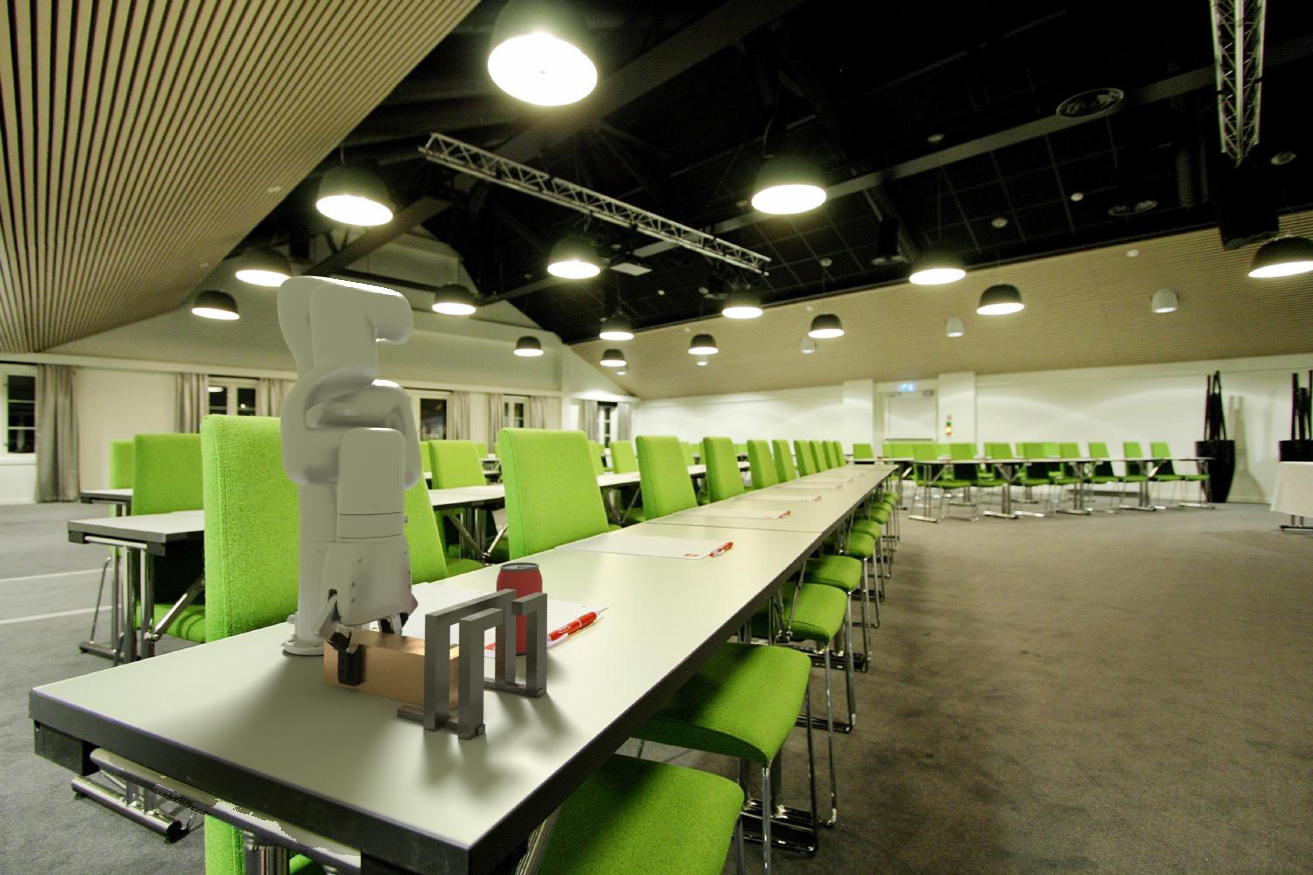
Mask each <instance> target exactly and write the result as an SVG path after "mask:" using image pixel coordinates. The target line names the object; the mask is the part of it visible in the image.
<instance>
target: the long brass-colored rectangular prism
mask: <svg viewBox="0 0 1313 875" xmlns="http://www.w3.org/2000/svg"><path fill="white" fill-rule="evenodd" d="M348 635H349V630H348V632H347V636H346V637H347V638H348ZM357 651H361V683H360V685H358V686H355V687H354V686H349V685H345V684H340V683H339V682H338V674H337V673H338V651H336V650H334V649H333V647H332V646H331V645H330V644H328V643H327V642H326V641H325V640H324V655H323V678H322V679H323V684H327V685H330V686H336V687H340V688H344V689H348V690H352V691H353V690H354V691H359V692H363V693H367V694H371V695H376V696H380V697H384V698H388V699H394V700H398V701H402V702H406V703H410V704H411V703H412V704H415V705H420V706H424V652H425V638H420V637H414V636H410V635H409V636H408V635H403V634H402V635H397V634H391V633H384V632H378V631H372V630H366V629H361V633H360V638H359V643H358V647H357ZM458 667H459V643H451V642H450V690H449V712H450V711H451V710H453V709H456V708H458Z"/></svg>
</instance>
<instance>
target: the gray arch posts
mask: <svg viewBox="0 0 1313 875" xmlns="http://www.w3.org/2000/svg"><path fill="white" fill-rule="evenodd" d="M526 614H527V615H526ZM516 615H519V616H523V615H526V654H525V683H518V682H516V681H517V680H516V679H517V678H516V675H517V674H516V670H517V668H516V667H517V665H516V664H517V660H516V659H517V655H516ZM457 624H458V644H459V667H458V706H457V716H453V715H450V711H449V690H450V643H451V626H454V625H457ZM493 628H495V633H494V634H495V636H494V637H495V641H494V678H493V677H492V678H491V677H489V676H488V677H487V676H485V632H486V631H487V630H491V629H493ZM424 639H425V652H424V705H423V708H419V707H415V706H410V705H405V704H404V705H402V706H400V707H397V709H396V716H397V717H398V718H402V719H406V720H411V721H415V722H420V723H423V724H422V725H423V728H422V729H423V730H428V731H431V732H436V731H438V730H440V729H442V728H444V729H447V730H452V731H455V732H457V738H460V739H462V740H468V741H470V740H472V739H474V738H475V737H479V736H481V735H483V734H484V733H485V732H486V723H485V722H484V719H485V718H484V717H485V716H484V714H485V712H484V710H485V708H484V706H485V705H484V703H485V700H484V698H485V689H491V690H495V691H499V692H504V693H510V694H514V695H521V696H524V697H530V698H535V699H539V698H541V697H543V696H544V694H546V693H547V692H548V689H547V687H548V685H547V682H548V681H547V680H548V678H547V676H548V674H547V673H548V670H547V668H548V667H547V666H548V664H547V662H548V593H547V592H542V593H540V592H536V593H533V594H530V595H527V596H524V597H521V598H519V599H516V590H513V589H504V590H501V591H498V592H496V591H494V592H492V593H489V594H486V595H482V596H479V597H476V598H473V599H469V600H467V601H463V602H460V603H457V604H454V605H451V606H448V607H445V608H440V609H437V610H434V611H432V612H429V613H424Z"/></svg>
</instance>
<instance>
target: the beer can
mask: <svg viewBox="0 0 1313 875" xmlns="http://www.w3.org/2000/svg"><path fill="white" fill-rule="evenodd" d="M495 584H496V587H495V589H496V590H495V592H498V591H501V590H504V589H513V590H516V599H519V598H521V597H524V596H527V595H530V594H533V593H536V592H540V593H543V577H542V574H541V571H540V564H538V563H537V562H529V561H527V562H526V561H525V562H524V561H518V562H516V561H515V562H509V563H504V564H501V565H500V566H499V572H498V574H497V578H496V583H495ZM526 615H527V614H526ZM526 615H523V616H519V615H516V656H518V655H526Z"/></svg>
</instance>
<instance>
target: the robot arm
mask: <svg viewBox="0 0 1313 875" xmlns="http://www.w3.org/2000/svg"><path fill="white" fill-rule="evenodd" d="M276 309H277V317H278V323H279V328H280V331H281V334H282V336H283V339H284V341H285V343H286V345H287V347H288V349H289V351H290V353H291V355H292V357H293V359H294V361H295V365H296V369H297V370H296V372H297V381H296V383H295V384H294V385H293V386H292V388H291V389H290V390H289V392H288V393H287V396H286V398H285V399H284V401H283V405H282V409H281V413H280V421H279V422H280V424H279V425H280V429H279V430H280V445H281V446H280V448H281V462H282V467H283V470H284V473H285V475H286V477H287V478H288V479H289V480H290V481H291V482H293V483H295V484H296V485H297V486H296V487H297V494H298V503H299V504H298V505H299V506H298V507H299V539H298V540H299V543H298V544H299V546H298V547H299V549H298V552H299V553H298V589H297V590H298V591H297V592H298V593H297V594H298V595H297V611H295V613H294V614H290V615H289V616H287V618H286V623H287V624H288V625H294V634H292V635H290V636H288V637H287V638H286V639H285V640H284V642H283V644H284V645H283V646H284V651H286V652H287V653H290V654H293V655H299V656H320V655H322V656H324V640H325V641H326V642H327V643H328V644H330V645H331V646H332V647H333V649H334V650H336V651H338V673H337V674H338V682H339V683H340V684H345V685H349V686H354V687H355V686H358V685H360V683H361V651H357V647H358V643H359V638H360V633H361V629H366V630H372V631H378V632H384V633H391V634H397V635H403V628H404V627H405V625H406V624H407V622H408V620H409V618H410V617H411V615H412V614H413V613H414V611H416V609H417V608H418V606H419V602H418V600H417V598H416V597H415V595H414V594H413V592H412V591H413V589H412V588H413V582H412V581H413V580H412V579H413V576H412V563H411V561H412V560H411V552H410V546H409V542H408V537H407V535H405V533H404V532H405V525H406V524H408V523H409V516H407V515H406V514H405V494H406V493H405V492H408V491H411V490H412V489H413V488H415V487H416V486H417V485H418V484H419V481H420V480H421V476H422V471H423V467H422V466H423V465H422V464H423V463H422V462H423V461H422V454H421V448H420V447H421V446H420V443H419V442H420V441H419V437H418V433H417V428H416V423H415V417H414V413H413V407H412V402H411V400H410V396H409V394H408V393H407V391H406V389H405V388H404V387H403V386H402V385H401V384H399V383H397V382H394V381H389V380H381V379H379V380H378V378H379V377H380V373H381V367H380V361H379V360H380V359H379V354H378V347H377V346H378V345H377V344H378V343H379V344H388V345H393V346H394V345H395V346H396V345H398V346H399V345H400V346H401V345H403V344H406V342H407V341H408V340H409V339H410V338H411V337H412V336H411V335H412V332H413V328H414V327H413V326H414V316H413V311H412V307H411V305H410V303H409V301H408V299H407V298H406V297H405V295H403V294H402V293H400V292H396V291H394V290H392V289H389V288H388V289H387V288H384V287H379V286H373V285H367V284H363V283H356V282H351V281H345V280H339V279H334V278H330V277H323V276H315V275H314V276H313V275H297V276H293V277H289V278H286V280H284V281H283V282H281V284H280V285H279V288H278V291H277V298H276ZM373 622H374V623H375V622H377V625H375V624H372V623H373ZM348 630H349V635H348V638H347V637H346V636H347V632H348Z"/></svg>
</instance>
